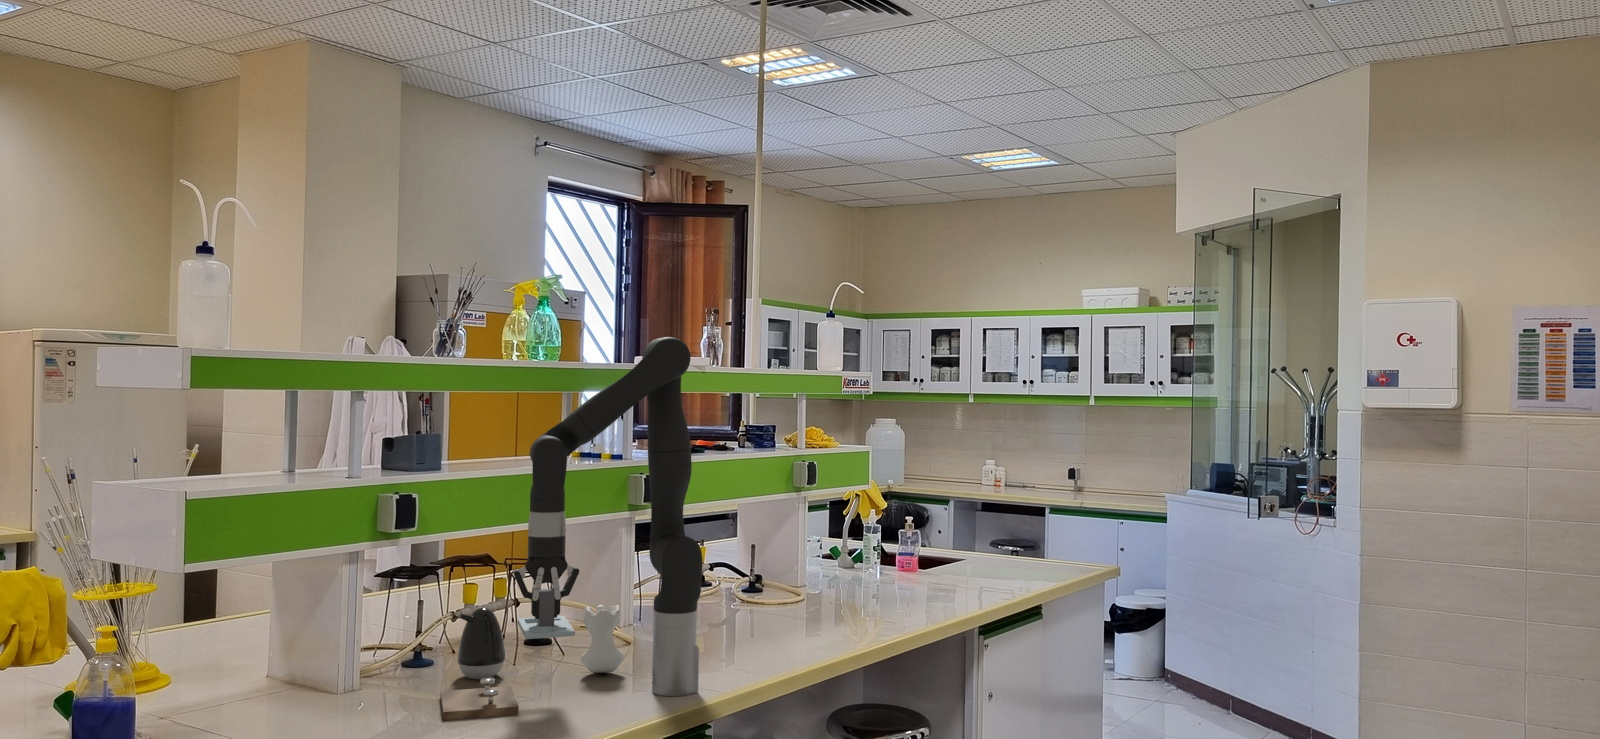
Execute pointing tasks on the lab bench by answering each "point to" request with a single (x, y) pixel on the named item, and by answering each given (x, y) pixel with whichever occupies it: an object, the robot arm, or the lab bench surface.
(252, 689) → the lab bench surface
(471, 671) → the pump dispenser
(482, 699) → the walnut board
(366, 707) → the lab bench surface
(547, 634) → the keyhole panel
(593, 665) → the white scalloped vase
